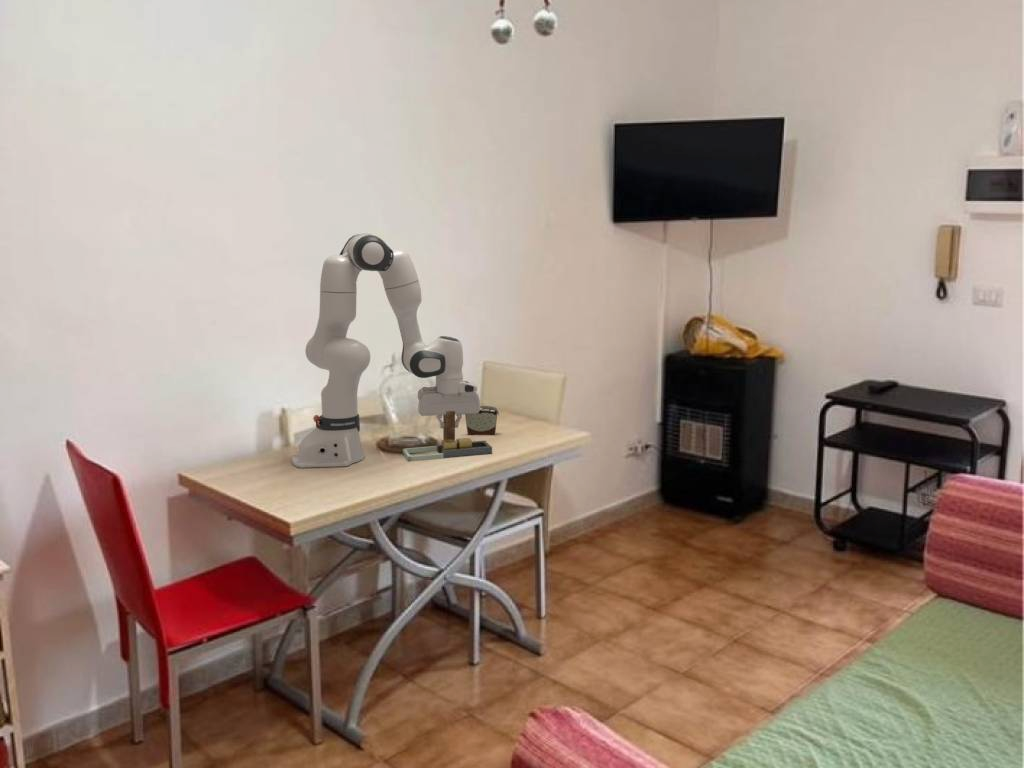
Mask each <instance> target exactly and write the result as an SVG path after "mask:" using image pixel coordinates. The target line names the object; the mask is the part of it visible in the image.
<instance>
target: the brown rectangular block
mask: <svg viewBox="0 0 1024 768" xmlns="http://www.w3.org/2000/svg"><path fill="white" fill-rule="evenodd" d="M442 418H443V420H442V422H445V428H442V431H443V435H442V436H443V437H442V438H443V439H442V440H449V439H454V440H455V441H456V428H455V421H456V414H455V411H446V415H442Z"/></svg>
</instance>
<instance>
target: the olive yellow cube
mask: <svg viewBox="0 0 1024 768" xmlns="http://www.w3.org/2000/svg"><path fill="white" fill-rule="evenodd" d="M456 442H457V449H462V448H472V442H473V440H471V439H470V437H465V438H456Z"/></svg>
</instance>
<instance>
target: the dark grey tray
mask: <svg viewBox="0 0 1024 768" xmlns="http://www.w3.org/2000/svg"><path fill="white" fill-rule="evenodd" d="M436 446H437V451H436V452H437V453H438V454H440V453H443V457H444V458H443V459H451V458H452V459H455V458H464V457H474V456H486V455H493V446H491V445H490V443H488V442H487V441H486V440H477V441H472V448H462V449H450V450H442V443H440V444H436Z"/></svg>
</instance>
